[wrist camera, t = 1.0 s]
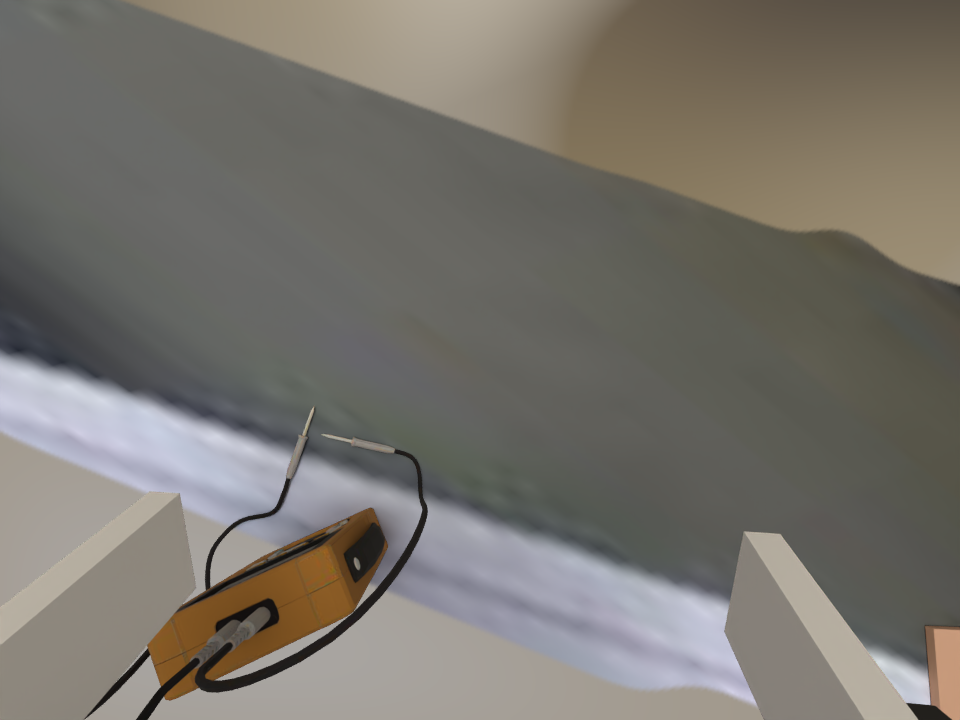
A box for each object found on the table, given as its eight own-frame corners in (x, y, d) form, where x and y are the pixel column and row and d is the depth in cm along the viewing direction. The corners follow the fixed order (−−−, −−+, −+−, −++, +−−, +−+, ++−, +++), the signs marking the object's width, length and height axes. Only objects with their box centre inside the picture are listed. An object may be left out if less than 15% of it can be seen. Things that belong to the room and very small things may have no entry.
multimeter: (383, 376, 34) (301, 280, 14) (445, 521, 33) (447, 637, 13) (159, 471, 32) (-295, 511, 12) (216, 629, 31) (-188, 954, 11)
